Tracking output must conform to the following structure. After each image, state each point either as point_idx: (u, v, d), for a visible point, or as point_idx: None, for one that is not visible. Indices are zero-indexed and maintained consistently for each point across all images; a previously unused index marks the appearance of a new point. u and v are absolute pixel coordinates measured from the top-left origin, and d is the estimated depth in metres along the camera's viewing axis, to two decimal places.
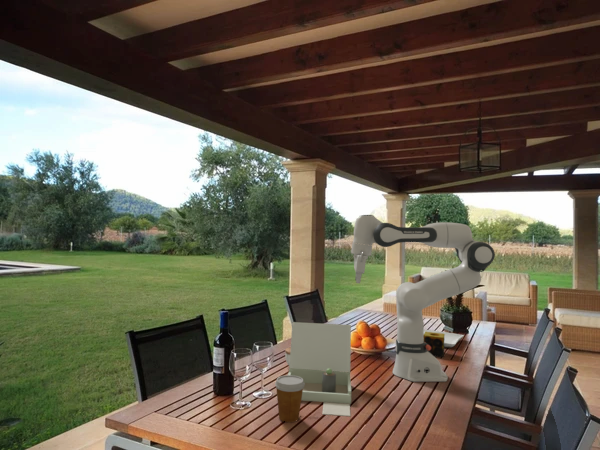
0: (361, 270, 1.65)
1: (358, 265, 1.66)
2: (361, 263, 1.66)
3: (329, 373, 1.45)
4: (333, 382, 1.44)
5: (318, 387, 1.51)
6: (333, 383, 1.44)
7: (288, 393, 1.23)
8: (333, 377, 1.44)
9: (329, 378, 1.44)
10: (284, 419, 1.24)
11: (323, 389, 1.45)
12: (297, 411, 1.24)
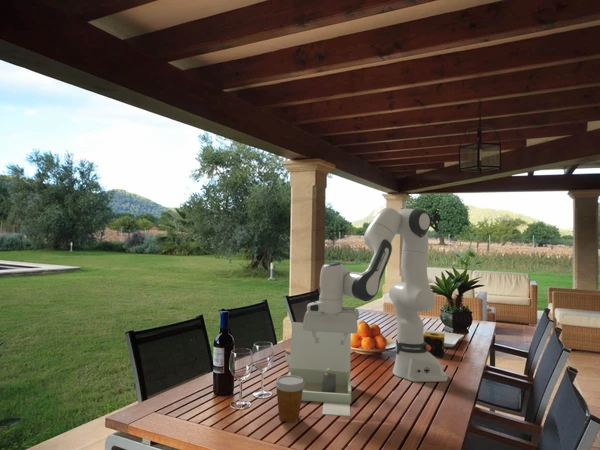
0: None
1: None
2: None
3: (329, 373, 1.45)
4: (333, 382, 1.44)
5: (318, 387, 1.51)
6: (333, 383, 1.44)
7: (288, 393, 1.23)
8: (333, 377, 1.44)
9: (329, 378, 1.44)
10: (284, 419, 1.24)
11: (323, 389, 1.45)
12: (297, 411, 1.24)
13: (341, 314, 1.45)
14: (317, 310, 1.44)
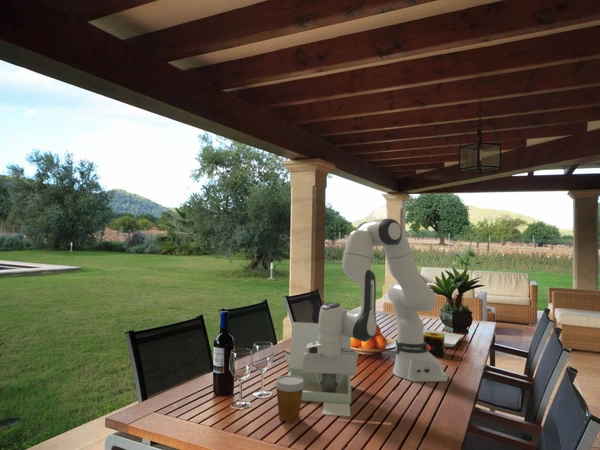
0: None
1: (356, 366, 1.44)
2: None
3: None
4: (333, 382, 1.44)
5: (318, 387, 1.51)
6: (333, 383, 1.44)
7: (288, 393, 1.22)
8: (333, 377, 1.44)
9: (329, 378, 1.44)
10: (284, 419, 1.24)
11: (323, 389, 1.45)
12: (297, 411, 1.24)
13: (340, 356, 1.44)
14: (316, 352, 1.44)
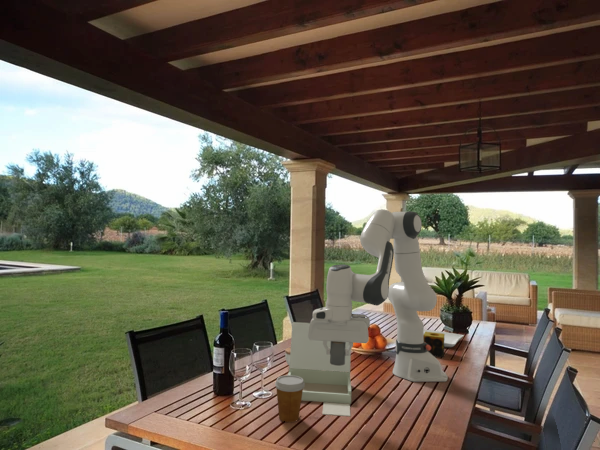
0: None
1: None
2: None
3: None
4: (342, 350, 1.31)
5: (318, 387, 1.51)
6: (342, 352, 1.31)
7: (288, 393, 1.23)
8: (342, 345, 1.31)
9: (338, 346, 1.31)
10: (284, 419, 1.24)
11: (331, 358, 1.32)
12: (297, 411, 1.24)
13: (350, 322, 1.31)
14: (324, 318, 1.31)
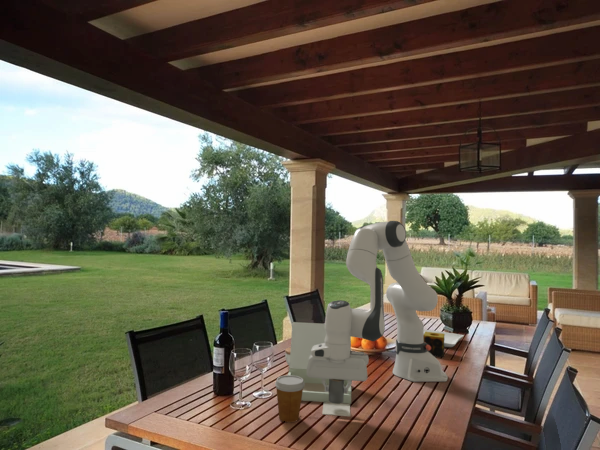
0: None
1: None
2: None
3: None
4: (341, 388, 1.31)
5: (318, 387, 1.51)
6: (341, 389, 1.31)
7: (288, 393, 1.22)
8: (341, 383, 1.31)
9: (337, 384, 1.30)
10: (284, 419, 1.24)
11: (330, 396, 1.31)
12: (297, 411, 1.24)
13: (349, 360, 1.31)
14: (322, 356, 1.30)
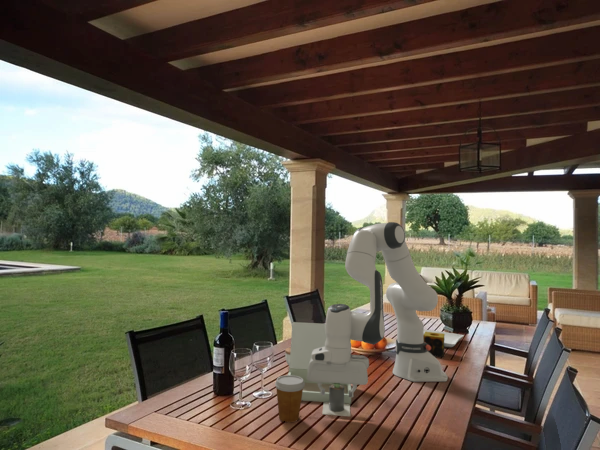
0: None
1: None
2: None
3: (337, 387, 1.32)
4: (341, 397, 1.31)
5: (318, 387, 1.51)
6: (341, 398, 1.31)
7: (288, 393, 1.23)
8: (341, 391, 1.31)
9: (337, 392, 1.30)
10: (284, 419, 1.24)
11: (330, 404, 1.31)
12: (297, 411, 1.24)
13: (349, 363, 1.31)
14: (323, 359, 1.30)
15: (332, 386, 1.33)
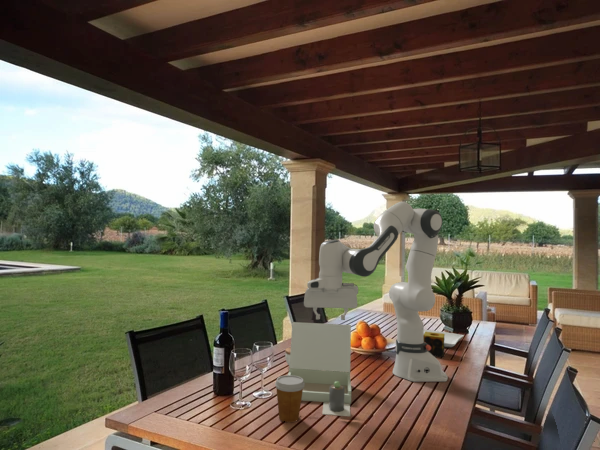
0: None
1: None
2: None
3: (337, 387, 1.32)
4: (342, 397, 1.31)
5: (318, 387, 1.51)
6: (342, 398, 1.31)
7: (288, 393, 1.23)
8: (342, 391, 1.31)
9: (337, 392, 1.30)
10: (284, 419, 1.24)
11: (330, 404, 1.31)
12: (297, 411, 1.24)
13: (341, 290, 1.48)
14: (317, 287, 1.47)
15: (332, 386, 1.33)
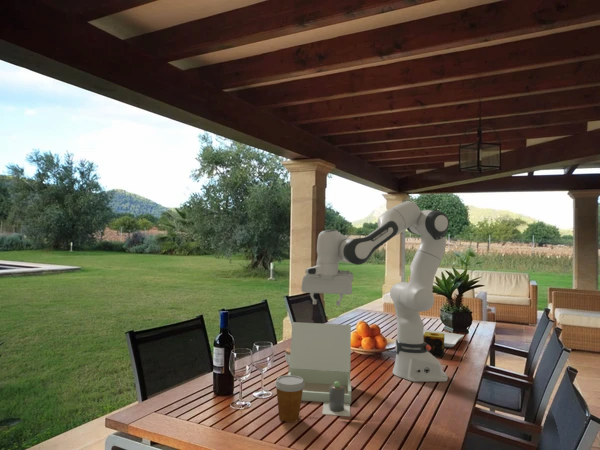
0: None
1: (351, 286, 1.56)
2: (351, 283, 1.58)
3: (337, 387, 1.32)
4: (342, 397, 1.31)
5: (318, 387, 1.51)
6: (342, 398, 1.31)
7: (288, 393, 1.23)
8: (342, 391, 1.31)
9: (337, 392, 1.30)
10: (284, 419, 1.24)
11: (330, 404, 1.31)
12: (297, 411, 1.24)
13: (337, 277, 1.56)
14: (314, 273, 1.56)
15: (332, 386, 1.33)
